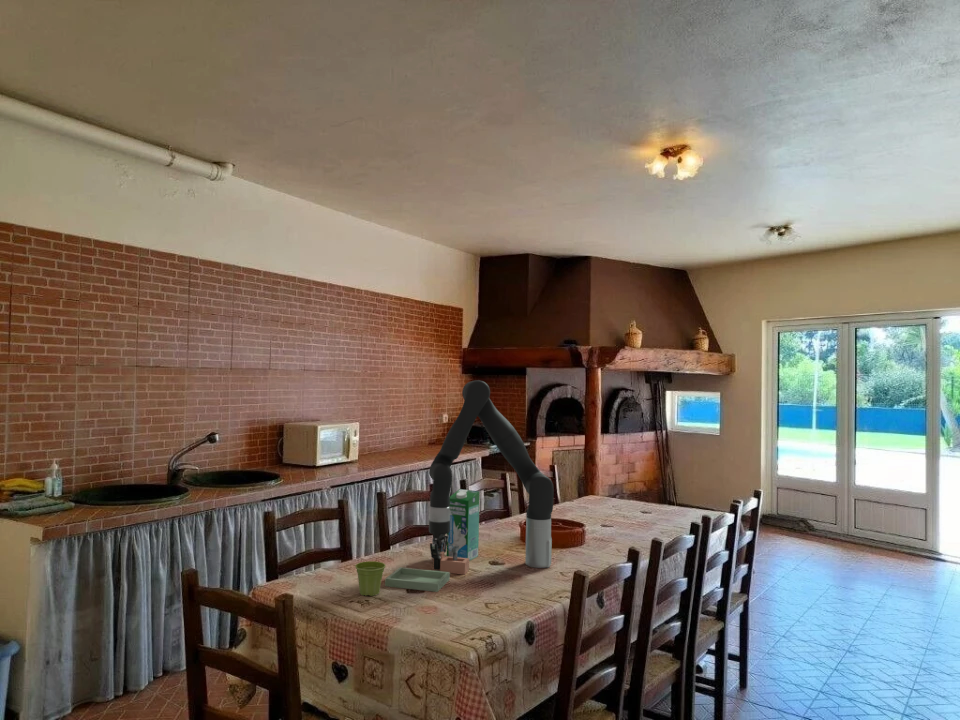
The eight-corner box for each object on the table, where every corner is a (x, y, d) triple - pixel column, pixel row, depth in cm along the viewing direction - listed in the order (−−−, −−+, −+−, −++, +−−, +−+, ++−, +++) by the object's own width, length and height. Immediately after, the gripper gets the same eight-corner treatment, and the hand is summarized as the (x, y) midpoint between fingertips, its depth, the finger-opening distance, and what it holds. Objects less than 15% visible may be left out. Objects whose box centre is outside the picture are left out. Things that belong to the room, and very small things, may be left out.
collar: (469, 569, 220) (469, 552, 220) (464, 574, 215) (465, 557, 215) (436, 566, 223) (436, 549, 223) (431, 571, 218) (432, 553, 218)
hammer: (458, 569, 221) (459, 546, 221) (455, 573, 216) (455, 549, 216) (454, 568, 221) (455, 545, 221) (450, 572, 216) (451, 549, 217)
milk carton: (446, 558, 234) (447, 492, 234) (458, 552, 242) (459, 488, 242) (467, 562, 229) (468, 494, 230) (478, 556, 237) (479, 490, 238)
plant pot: (371, 586, 201) (371, 559, 201) (391, 592, 195) (391, 565, 195) (348, 593, 193) (349, 565, 194) (368, 600, 187) (368, 571, 188)
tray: (449, 579, 209) (449, 572, 209) (437, 591, 196) (437, 584, 196) (399, 574, 213) (400, 567, 213) (385, 586, 201) (385, 578, 201)
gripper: (443, 524, 213) (442, 574, 212) (455, 515, 226) (454, 563, 226) (423, 522, 215) (421, 572, 214) (435, 514, 228) (434, 561, 228)
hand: (438, 567), depth 220 cm, fingers closed on collar, 3 cm apart
